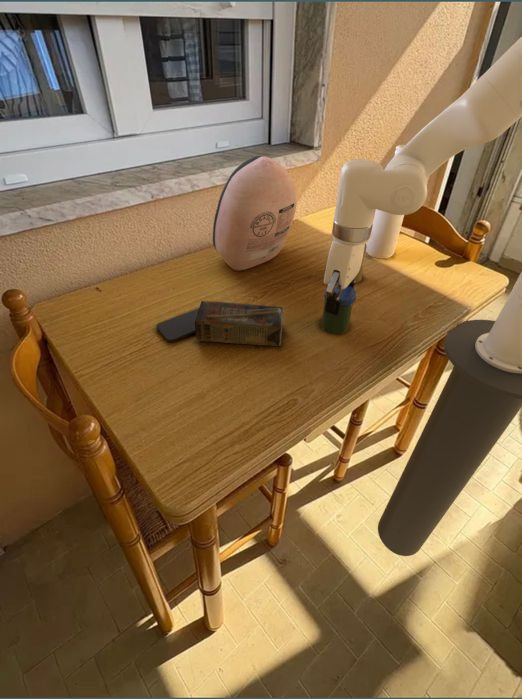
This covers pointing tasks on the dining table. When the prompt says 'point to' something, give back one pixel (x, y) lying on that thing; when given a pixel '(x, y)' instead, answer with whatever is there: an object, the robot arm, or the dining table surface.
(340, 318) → the jam jar
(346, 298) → the jar lid
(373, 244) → the alcohol
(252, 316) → the beverage carton
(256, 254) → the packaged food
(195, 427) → the dining table surface
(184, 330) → the phone
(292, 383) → the dining table surface
